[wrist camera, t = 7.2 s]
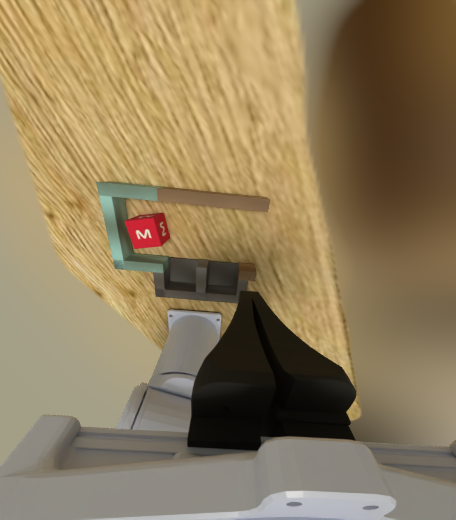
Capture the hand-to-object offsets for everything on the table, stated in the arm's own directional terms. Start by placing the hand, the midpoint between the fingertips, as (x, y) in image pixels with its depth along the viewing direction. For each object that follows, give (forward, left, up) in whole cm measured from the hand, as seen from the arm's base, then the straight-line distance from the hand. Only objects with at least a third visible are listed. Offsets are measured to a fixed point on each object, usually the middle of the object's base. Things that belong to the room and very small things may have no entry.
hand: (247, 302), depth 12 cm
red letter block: (+2, +11, -10) cm, 15 cm away
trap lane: (0, +6, -10) cm, 12 cm away
